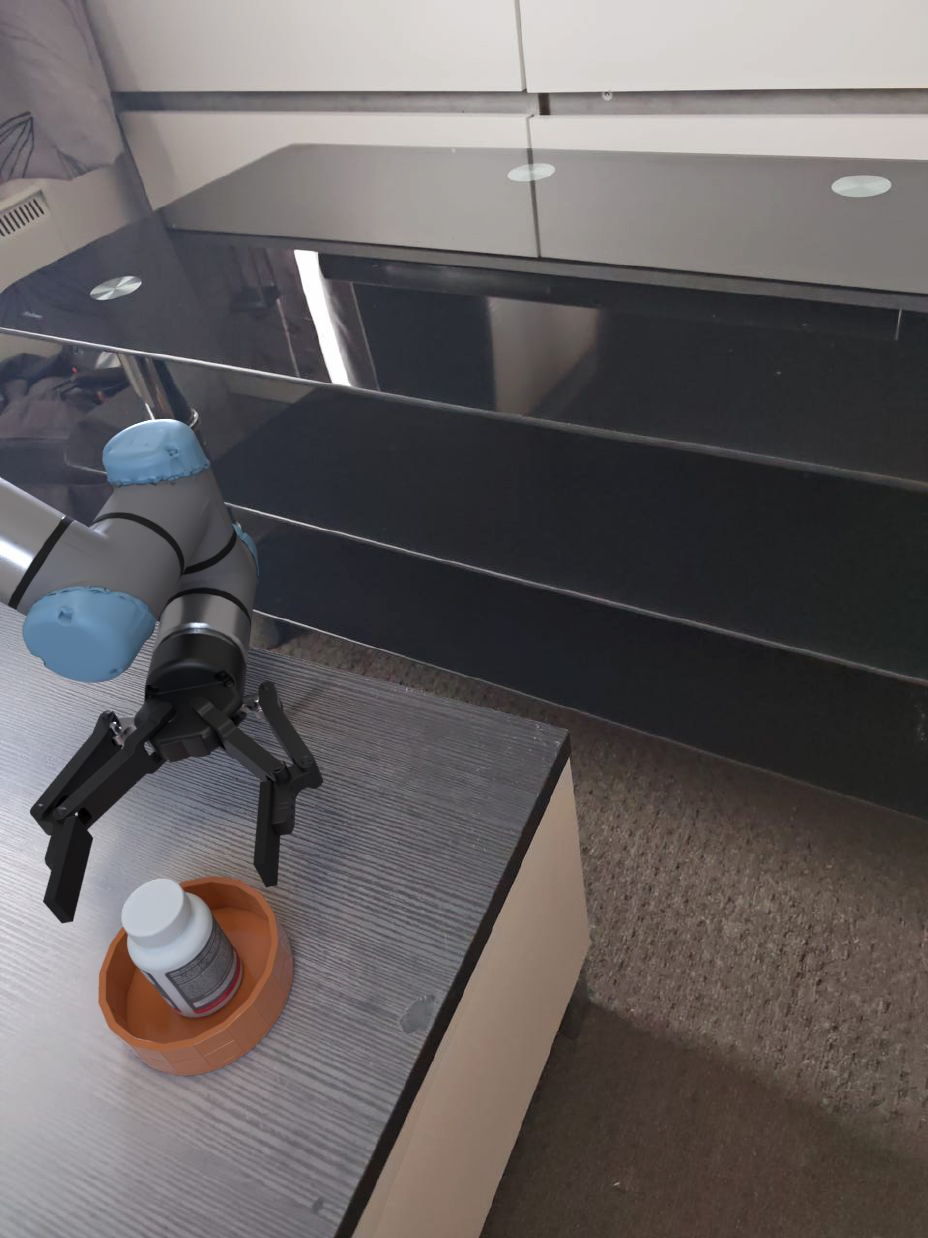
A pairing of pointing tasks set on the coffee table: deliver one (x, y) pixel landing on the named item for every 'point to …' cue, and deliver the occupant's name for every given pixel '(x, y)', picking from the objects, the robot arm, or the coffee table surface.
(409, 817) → the coffee table surface
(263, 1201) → the coffee table surface
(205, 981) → the pill bottle
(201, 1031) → the orange round bowl
